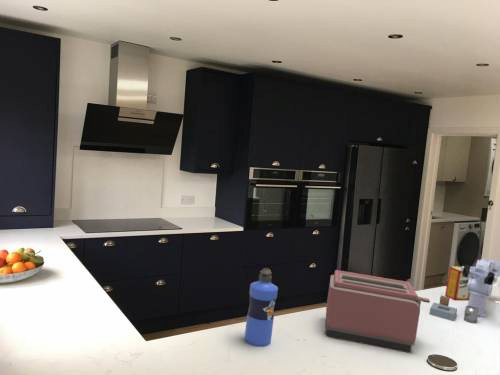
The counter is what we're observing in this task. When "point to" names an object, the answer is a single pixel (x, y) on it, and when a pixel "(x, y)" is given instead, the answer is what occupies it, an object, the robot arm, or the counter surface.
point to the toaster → (372, 310)
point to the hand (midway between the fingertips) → (475, 278)
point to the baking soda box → (457, 284)
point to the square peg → (444, 300)
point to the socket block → (443, 311)
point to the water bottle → (261, 310)
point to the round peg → (471, 314)
